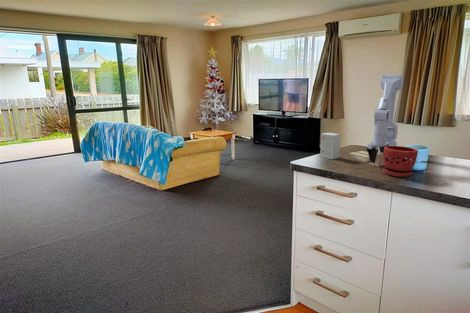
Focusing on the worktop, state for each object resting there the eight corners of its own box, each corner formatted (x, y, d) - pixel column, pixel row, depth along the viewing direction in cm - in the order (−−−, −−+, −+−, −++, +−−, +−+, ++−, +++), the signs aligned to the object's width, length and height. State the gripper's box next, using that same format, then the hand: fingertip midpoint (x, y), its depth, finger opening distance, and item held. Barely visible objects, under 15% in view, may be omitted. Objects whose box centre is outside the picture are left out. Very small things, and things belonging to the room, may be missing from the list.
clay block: (375, 163, 157) (377, 151, 155) (384, 165, 153) (386, 153, 151) (369, 164, 154) (370, 152, 153) (378, 166, 150) (379, 154, 149)
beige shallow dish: (362, 156, 173) (362, 150, 173) (379, 160, 164) (379, 154, 163) (348, 158, 168) (348, 152, 168) (365, 162, 159) (365, 157, 158)
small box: (339, 157, 168) (341, 134, 165) (332, 159, 164) (334, 135, 161) (326, 155, 174) (328, 132, 171) (319, 156, 170) (321, 133, 167)
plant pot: (414, 180, 129) (418, 152, 126) (380, 175, 136) (383, 149, 133) (414, 172, 140) (417, 146, 138) (382, 168, 147) (385, 143, 144)
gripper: (382, 132, 157) (379, 158, 160) (363, 134, 150) (360, 161, 153) (395, 134, 151) (392, 161, 154) (375, 136, 144) (372, 164, 147)
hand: (377, 161), depth 153 cm, fingers open, 7 cm apart
